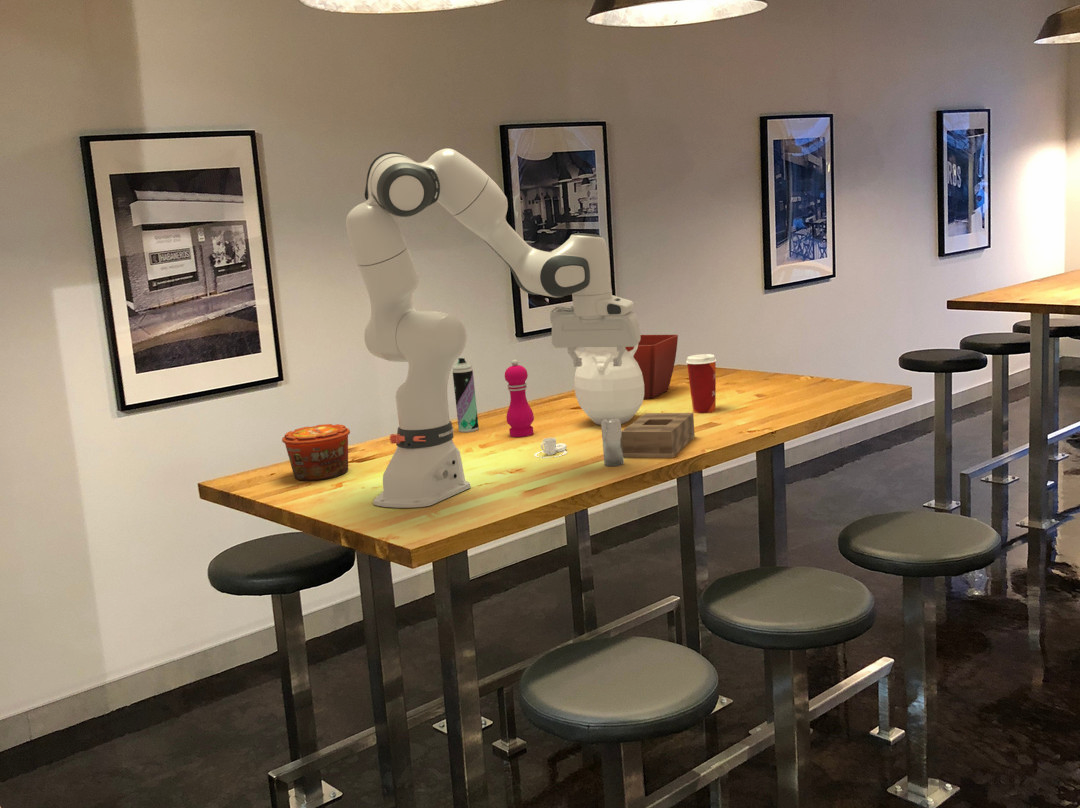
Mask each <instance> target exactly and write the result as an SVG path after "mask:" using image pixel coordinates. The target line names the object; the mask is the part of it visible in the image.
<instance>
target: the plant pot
mask: <svg viewBox="0 0 1080 808" xmlns="http://www.w3.org/2000/svg"><path fill="white" fill-rule="evenodd" d="M640 337H641V339H640V342H639V343H638V348H637V350H636V352H635V354H634V356H633V357H634V359H635V360H636V361H637V363H638V365H639V367H640V369H641V372H642V376H643V381H644V398H643V400H651V399H654V398H656V397H658V396H660V395H662V394H664V393H666V392H668V391H669V388H670V384H671V380H672V376H673V374H674V367H675V363H676V358H677V357H676V355H677V349H678V348H677V347H678V340H679V334H640ZM633 349H634V347H626V350H627V351H628V352H629V351H631V350H633Z"/></svg>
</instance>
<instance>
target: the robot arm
mask: <svg viewBox="0 0 1080 808" xmlns="http://www.w3.org/2000/svg"><path fill="white" fill-rule="evenodd" d="M365 181H366V183H365V188H364V189H365V191H364V198H365V200H366V201H364V202H361V203H359V204H358V205H357V204H356V206H354V207H353V208H352V209H351V210H350V211H349V212H348V214H347V215H346V219H345V227H346V231H347V236H348V240H349V244H350V248H351V252H352V253H353V257H354V260H355V263H356V265H357V267H358V269H359V272H360V275H361V277H362V281H363V283H364V285H365V287H366V291H367V293H368V296H369V297H368V298H369V301H370V319H369V320H368V322H367V324H366V326H365V328H364V336H363V337H364V343H365V346H366V348H367V350H368V352H369V353H370V354H371V355H373V356H374V357H377V358H378V359H379V358H380V359H383V360H385V361H388V362H394V363H395V362H397V363H398V362H399V363H408V370H407V371H408V372H407V377H406V380H405V382H403V383H402V384H401V385H399V387H398V388H397V390H396V392H395V402H396V410H397V419H398V420H397V421H398V427H397V432H396V434H394V433H391V434H390V435H389V442H390V444H392V445H394V444H396V449H395V452H394V453H393V455H392V457H391V459H390V461H389V463H388V464H387V467H386V468H385V470H384V472H383V476H382V486H383V487H382V488H383V489H382V490H383V491H382V492H381V493H380V494H379V495H377V496H375V497H374V499H373V500H372V501H373V505H374V506H378V507H385V508H399V509H400V508H401V509H403V508H406V509H407V508H410V509H411V508H422V507H429V506H432V505H435V504H437V503H440V502H441V501H443V500H446V499H448V498H451V497H452V496H455V495H457V494H459V493H461V492H463V491H467V490H468V489H470V488H471V487H472V486H471V482H470V481H468V480H466V478H465V477H466V476H465V472H464V466H463V462H462V457H461V452H460V450H459V448H458V447H457V446H456V444H455V443H454V440H453V439H454V427H453V422H452V421H451V419H450V411H449V399H448V385H449V379H450V374H451V370H452V369H453V365H454V363H455V362H456V360H457V359H458V358H460V356H461V355H462V354H463V352H464V350H465V348H466V344H467V336H468V335H467V331H466V328H465V324H464V323H463V321H462V320H461V319H460V318H459V317H458V316H457V315H456V316H455V315H453V314H451V313H448V312H447V313H446V312H443V311H438V310H416V307H414V303H413V295H412V294H413V293H414V292H415V290H416V289H417V288H418V285H419V282H420V276H419V272H418V270H417V267H416V264H415V262H414V259H413V256H412V253H411V252H410V248H409V246H408V244H407V241H406V239H405V237H404V233H403V231H402V230H403V229H402V226H401V220H402V218H409V217H413V216H415V215H417V214H419V213H421V212H422V211H424V210H425V209H427V208H428V207H429V206H432V204H435V203H438V204H440V206H442V207H443V208H444V209H445V211H447V212H448V213H449V214H450V215H451V216H453V218H454V219H456V220H457V221H458V222H459V223H461V224H462V225H463V226H464V227H466V228H467V229H468V230H470V231H471V232H472V233H474V234H475V235H476V236H478V237H480V238H481V239H482V240H483V241H484V242H485V243H486V244H487V245H488V246H489V247H490V248H491V249H492V250H493V252H495V253H496V254H497V256H498V257H500V258H501V260H503V262H504V263H506V265H507V266H508V267H509V269H510V271H511V273H512V275H513V278H514V280H515V282H516V284H517V286H518V287H519V288H520V289H521V290H522V291H523V292H524V293H526V294H529V295H534V296H535V295H538V296H539V295H541V296H545V297H551V298H563V297H566V296H569V295H571V296H572V305H569V306H555V308H553V309H552V310H551V311H550V314H549V316H550V317H549V318H550V320H549V321H550V323H551V343H552V344H551V345H552V346H553V347H554V348H558V349H559V348H560V349H562V348H564V349H565V348H567V353H568V355H569V357H570V358H571V359H572V362H573V367H575V368H577V367H581V366H582V362H581V361H582V358H579V357H578V356H577V354H576V353H575V351H576V347H579V348H584V347H617V351H618V352H619V351H620V352H619V354H618V356H617V357H615V358H614V359H613V362H614V364H613V366H621V365H622V359H621V357H622V356H623V354H624V352H625V350H626V347H634V346H636V345H637V344H638V343H639V342H640V339H641V337H640V335H641V329H640V323H639V319H638V317H637V314H636V313H635V312H633V311H632V310H634V308H635V307H634V306H635V305H634V304H635V303H634V301H633V300H629V299H626V298H623V297H620V296H616V295H613V289H612V287H611V284H610V276H611V275H610V274H611V267H610V265H611V264H610V256H609V249H608V247H607V246H608V245H607V243H606V240H605V238H604V237H603V236H602V235H599V234H596V233H594V234H593V233H583V232H581V233H580V232H577V233H576V232H575V233H573V234H571V235H570V236H569V238H568V239H567V240H565V242H564V243H563V244H561V245H559V247H557V248H555V249H553V250H551V251H545V250H542V249H537V248H535V247H532V246H531V245H529V244H528V242H526V241H525V240H524V239H523V238H522V237H521V235H519V234H518V232H517V231H516V230H515V229H513V227H512V226H511V225H510V224H509V223H508V221H507V220H506V217H507V212H508V208H509V205H508V204H509V202H508V197H507V196H506V195H505V193H504V192H503V190H502V189H501V188H500V186H499V185H498V184H497V183H496V182H495V181H494V179H492V178H491V177H490V176H489V174H487V173H486V172H485V171H484V170H483V169H482V168H480V167H479V166H478V165H477V164H476V163H474V162H473V161H472V160H470V159H469V158H468V157H467V156H465V155H463V154H461V153H460V152H458V151H457V150H455V149H453V148H442V149H440V150H437V151H436V152H434V153H433V154H432V155H431V156H430V157H428V159H426V160H425V161H423V162H416V161H415V160H413V159H412V158H410V156H407V155H405V154H403V153H401V152H397V151H389V152H384V153H382V154H380V155H378V156H377V157H375V158H374V160H373V161H372V162H371V164H370V166H369V168H368V172H367V175H366V180H365Z"/></svg>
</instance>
